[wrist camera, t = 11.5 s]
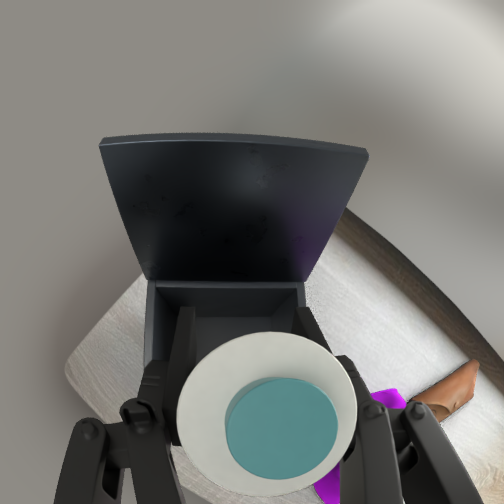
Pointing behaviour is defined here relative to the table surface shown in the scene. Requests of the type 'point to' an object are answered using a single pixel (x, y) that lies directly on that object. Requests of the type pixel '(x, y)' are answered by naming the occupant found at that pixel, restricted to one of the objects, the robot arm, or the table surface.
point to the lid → (229, 202)
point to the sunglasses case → (450, 391)
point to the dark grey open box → (217, 312)
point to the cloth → (331, 481)
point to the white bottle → (266, 414)
